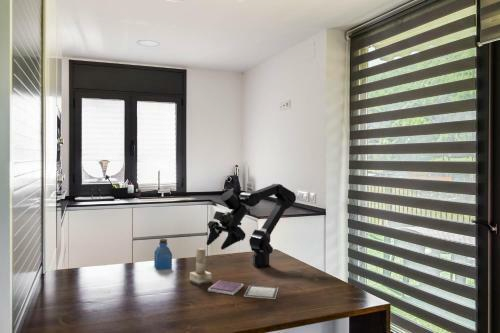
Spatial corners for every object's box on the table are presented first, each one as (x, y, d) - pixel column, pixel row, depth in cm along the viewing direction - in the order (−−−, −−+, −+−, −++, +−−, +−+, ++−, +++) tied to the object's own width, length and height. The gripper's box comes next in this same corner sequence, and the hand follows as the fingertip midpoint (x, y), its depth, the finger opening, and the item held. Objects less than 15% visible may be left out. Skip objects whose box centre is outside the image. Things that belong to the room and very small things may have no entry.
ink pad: (219, 282, 149) (219, 279, 149) (243, 286, 145) (243, 282, 145) (207, 291, 139) (207, 287, 139) (233, 295, 136) (233, 291, 136)
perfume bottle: (154, 266, 169) (154, 238, 169) (168, 264, 171) (168, 237, 171) (157, 270, 163) (157, 241, 163) (171, 268, 166) (172, 240, 166)
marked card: (249, 285, 146) (249, 285, 146) (278, 288, 144) (278, 287, 144) (243, 296, 135) (243, 295, 135) (275, 298, 133) (275, 298, 133)
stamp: (202, 278, 154) (202, 246, 154) (211, 281, 150) (211, 249, 149) (189, 281, 150) (190, 249, 149) (198, 285, 145) (199, 252, 145)
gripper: (211, 201, 164) (189, 230, 156) (240, 206, 150) (218, 238, 143) (225, 218, 169) (204, 247, 162) (254, 224, 156) (233, 256, 149)
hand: (214, 246), depth 154 cm, fingers open, 9 cm apart
